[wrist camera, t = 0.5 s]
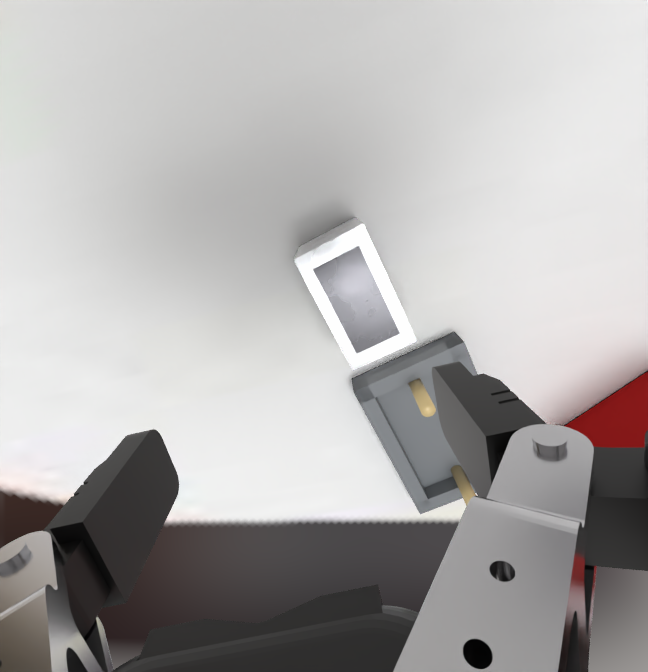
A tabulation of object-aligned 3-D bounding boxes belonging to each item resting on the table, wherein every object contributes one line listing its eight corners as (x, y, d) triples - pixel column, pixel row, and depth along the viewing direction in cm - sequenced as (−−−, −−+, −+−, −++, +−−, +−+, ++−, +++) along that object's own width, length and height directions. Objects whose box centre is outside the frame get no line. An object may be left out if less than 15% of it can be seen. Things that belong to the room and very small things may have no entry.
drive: (355, 216, 28) (363, 223, 22) (399, 313, 30) (417, 341, 25) (299, 246, 29) (293, 260, 23) (347, 338, 31) (352, 371, 25)
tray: (454, 332, 31) (483, 362, 25) (507, 459, 35) (542, 508, 30) (351, 378, 32) (357, 417, 27) (414, 495, 36) (431, 549, 31)
